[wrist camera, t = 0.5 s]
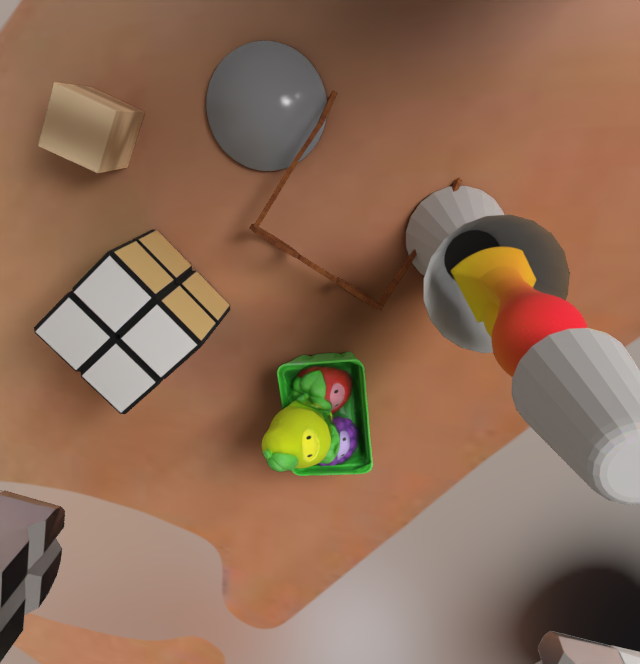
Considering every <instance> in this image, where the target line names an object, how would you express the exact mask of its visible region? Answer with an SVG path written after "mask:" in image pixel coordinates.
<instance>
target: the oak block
mask: <svg viewBox="0 0 640 664" xmlns="http://www.w3.org/2000/svg"><path fill="white" fill-rule="evenodd" d="M144 114H145V112H144V111H142V110H140V109H138V108H136V107H134V106H131V105H129V104H127V103H125V102H123V101H121V100H119V99H116V98H114V97H112V96H110V95H108V94H106V93H103V92H101V91H99V90H97V89H95V88H93V87H91V86H83V85H74V84H65V83H57V82H54V85H53V88H52V92H51V96H50V100H49V104H48V108H47V112H46V116H45V120H44V124H43V128H42V132H41V136H40V140H39V144H38V146H39V147H41V148H44V149H46V150H48V151H50V152H52V153H55V154H57V155H59V156H61V157H63V158H65V159H68V160H70V161H72V162H74V163H76V164H79V165H81V166H83V167H85V168H87V169H90V170H92V171H94V172H96V173H102V172H107V171H112V170H117V169H123V168H128V165H129V162H130V159H131V156H132V153H133V149H134V146H135V143H136V140H137V136H138V133H139V130H140V127H141V123H142V120H143V117H144Z"/></svg>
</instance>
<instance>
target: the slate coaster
mask: <svg viewBox="0 0 640 664" xmlns="http://www.w3.org/2000/svg"><path fill="white" fill-rule="evenodd" d="M326 103H327V97H326V92H325V88H324V85H323V82H322V80H321V78H320V76H319V74H318V72H317V71H316V69H315V68H314V66H313V65H312V64H311V62H310V61H309V60H308V59H307V58H306V57H305V56H303V55H302V54H301V53H299V52H298V51H297V50H295V49H293V48H292V47H290V46H287V45H285V44H282V43H278V42H274V41H256V42H251V43H248V44H245V45H242V46H240V47H238V48H237V49H235V50H233V51H232V52H231V53H229V54H228V55H227V56H226V57H225V58H224V59H223V60H222V61H221V63H220V64H219V65H218V66H217V68H216V70H215V72H214V73H213V75H212V78H211V80H210V83H209V87H208V91H207V98H206V109H207V117H208V121H209V125H210V128H211V131H212V133H213V135H214V137H215V139H216V141H217V142H218V144H219V145H220V146H221V148H222V149H223V150H224V151H225V152H226V153H227V154H228V155H229V156H230V157H231V158H232V159H234V160H235V161H237V162H238V163H240V164H242V165H244V166H246V167H249V168H251V169H256V170H261V171H276V170H281V169H285V168H288V167H289V166H290V165H291V163H292V161H293V160H294V158H295V157H296V155H297V154H298V152H299V151H300V149H301V148H302V147H303V145H304V144H305V142H306V141H307V139H308V137H309V136H310V134H311V133H312V131H313V130H314V128H315V127H316V125H317V123H318V121H319V118H320V116H321V114H322V112H323V110H324V107H325V105H326ZM326 119H327V117H326ZM326 119H325V121H324V123H323V125H322V127H321V128H320V130H319V131H318V133H317V134H316V136H315V137H314V139H313V140H312V142H311V143H310V145H309V146H308V148H307V149H306V150H305V152H304V153H303V155H302V156H301V158H300V159H299V161H301V160H302V159H304V158H305V157H306V156H307V155H308V154H309V153H310V152H311V151H312V150H313V149H314V147H315V146H316V144H317V143H318V141H319V140H320V138H321V136H322V133H323V130H324V127H325V124H326ZM299 161H298V162H299ZM298 162H297V163H298Z"/></svg>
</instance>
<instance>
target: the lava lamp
mask: <svg viewBox="0 0 640 664" xmlns="http://www.w3.org/2000/svg"><path fill="white" fill-rule="evenodd" d="M406 249H407V251H408V254H409V255H410V254H411V252H412V251H413V250H414V249H416V254H417V255H416V257H415V258H414V260H413V261H412V263H413V265H414V266H415V267H416V269H417V270H418V271H419V272H420V274H422V275H424V303H425V306H426V309H427V311H428V314H429V317H430V320H431V321H432V323H433V324H434V325H435V326H436V328H437V329H438V330H439V331H440V333H441V334H442V335H443V336H444V337H445V338H447V339H448V340H450V341H452V342H453V343H455V344H456V345H458V346H459V347H461V348H465V349H469V350H473V351H476V352H480V353H492V352H493V353H494V355H495V358H496V360H497V362H498V363H499V365H500V366H501V367H502V368H503V369H504V371H506V372H507V373H508V374H509V375H510V376H512V377H513V378H512V397H513V400H514V404H515V407H516V410H517V411H518V412H519V414H520V415H521V416H522V417H523V419H524V420H525V421H526V422H527V423H528V424H529V425H530V426H531V427H532V428H533V430H534V431H535V432H536V433H537V434H538V435H539V436H540V437H541V438H542V439H543V440H544V441H545V442H547V444H548V445H549V446H550V447H551V448H552V449H553V450H554V451H555V452H556V453H557V454H558V455H559V456H560V457H561V458H562V459H563V460H564V461H565V462H566V463H567V464H568V465H569V466H570V467H571V468H572V469H573V470H574V471H575V472H576V473H577V474H578V475H579V476H580V477H581V478H582V479H583V480H584V481H585V482H586V483H587V484H588V485H589V486H590V487H591V488H592V489H593V490H594V491H595V492H597V493H598V494H600V495H601V496H603V497H605V498H606V499H608V500H610V501H614V502H619V503H622V504H640V371H639V369H638V368H637V366H636V364H635V363H634V361H633V359H632V358H631V356H630V355H629V353H628V352H627V350H626V349H625V348H624V346H623V345H622V343H621V342H619V341H618V340H616V339H615V338H613V337H612V336H610V335H609V334H607V333H605V332H601V331H597V330H594V329H590V328H587V325H586V322H585V320H584V318H583V317H582V315H581V314H580V312H579V311H578V310H577V309H576V308H575V307H574V306H573V305H572V304H570V303H569V302H567V301H566V297H567V295H568V285H569V274H570V272H569V268H568V264H567V260H566V256H565V253H564V251H563V249H562V248H561V246H560V245H559V243H558V242H557V240H556V239H555V238H554V236H553V235H552V233H550V232H549V231H547V230H546V229H544V228H543V227H541V226H540V225H539V224H537V223H536V222H534V221H532V220H528V219H525V218H521V217H517V216H514V215H504V213H503V211H502V209H501V208H500V207H499V205H498V204H497V202H496V201H495V200H494V199H493V198H492V197H491V196H489V195H488V194H486V193H485V192H483V191H482V190H479V189H476V188H472V187H468V186H460V187H459V190H457V191H455V192H453V189H452V187H447V188H444V189H442V190H439V191H436V192H434V193H432V194H431V195H430V196H428V197H427V198H426V199H425V200H423V201H422V202H421V203H420V204H419V205H418V207H417V208H416V210H415V211H414V213H413V214H412V215H411V217H410V220H409V224H408V227H407V230H406Z"/></svg>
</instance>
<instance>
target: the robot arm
mask: <svg viewBox="0 0 640 664" xmlns="http://www.w3.org/2000/svg"><path fill="white" fill-rule="evenodd" d="M64 517H65V510H64V509H63V508H62V507H61V506H57V505H54V504H51V503H47V502H43V501H39V500H36V499H32V498H29V497H26V496H22V495H18V494H15V493H11V492H8V491H1V490H0V662H1V661H2V659H3V658H4V656H5V655H6V654H7V652H8V651H9V649H10V648H11V647H12V645H13V644H14V642H15V641H16V640H17V638H18V637H19V635H20V634H21V632H22V631H23V625H24V615H25V614H27V613H29V612H31V611H33V610H35V609H37V608H39V607H40V605H41V604H42V602H43V601H44V599H45V598H46V596H47V595H48V593H49V591H50V589H51V587H52V584H53V583H54V580H55V578H56V576H57V573H58V569H59V565H60V561H61V554H62V548H61V546H60V544H59V543H58V541H57V539H56V537H57V536H58V534H59V533H60V532H61V530H62V529H63V528H64V519H65V518H64ZM538 650H539V653H540V657H541V661H539V662H538V663H536V664H640V652H637V651H633V650H629V649H625V648H620V647H616V646H608V645H606V644H601V643H597V642H594V641H589V640H585V639H581V638H577V637H573V636H569V635H565V634H561V633H557V632H553V631H549V632H548V633H547V634H546V635H545V636H544V637H543V639H542V641H541V643H540V645H539V646H538Z"/></svg>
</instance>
